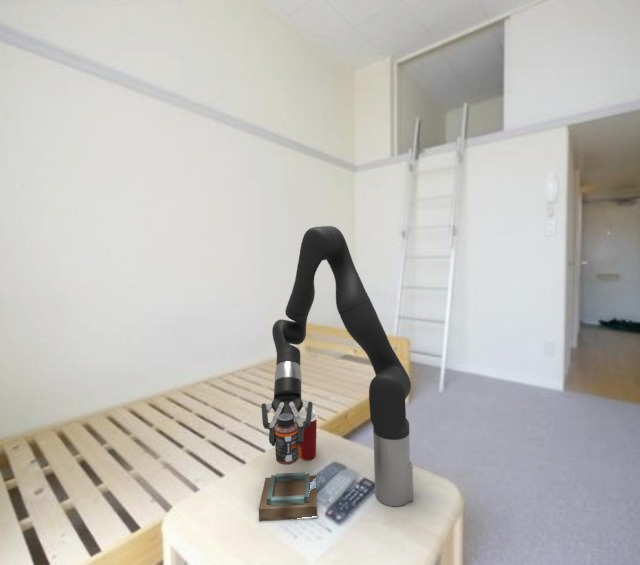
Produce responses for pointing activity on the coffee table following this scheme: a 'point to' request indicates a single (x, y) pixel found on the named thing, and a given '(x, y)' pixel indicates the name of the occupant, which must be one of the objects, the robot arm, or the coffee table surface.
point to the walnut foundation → (288, 497)
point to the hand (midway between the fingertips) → (286, 444)
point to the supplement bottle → (286, 440)
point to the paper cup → (308, 437)
